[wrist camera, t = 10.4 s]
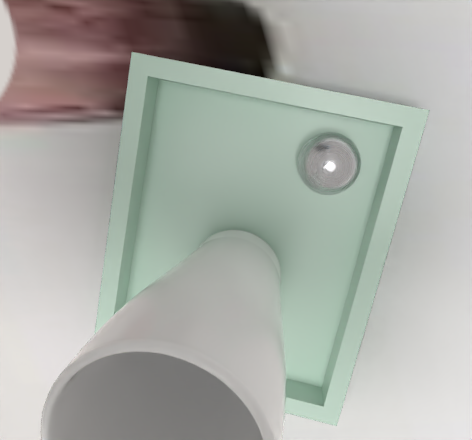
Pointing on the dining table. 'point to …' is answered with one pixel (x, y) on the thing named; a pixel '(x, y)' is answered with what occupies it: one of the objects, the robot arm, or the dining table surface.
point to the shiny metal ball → (329, 163)
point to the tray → (260, 203)
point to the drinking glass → (184, 355)
